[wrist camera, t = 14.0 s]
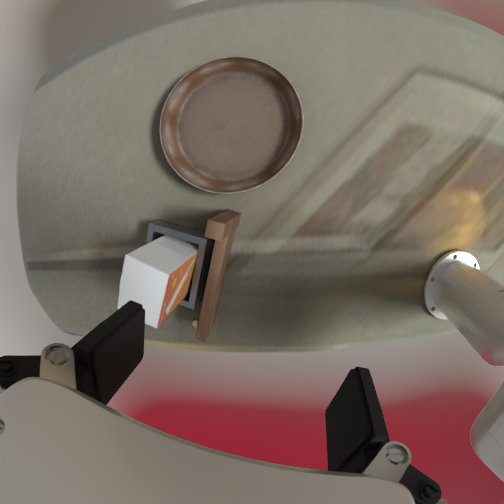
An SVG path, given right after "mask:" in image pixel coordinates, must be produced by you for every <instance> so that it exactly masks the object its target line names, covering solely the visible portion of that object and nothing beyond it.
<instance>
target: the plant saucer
mask: <svg viewBox="0 0 504 504" xmlns="http://www.w3.org/2000/svg"><path fill="white" fill-rule="evenodd" d="M303 125H304V115H303V108H302V104H301V101H300V98H299V95H298V93H297V91H296V89H295V88H294V86H293V84H292V83H291V82H290V80H289V79H288V78H287V77H286V76H285V75H284V74H283V73H282V72H281V71H279V70H278V69H277V68H275V67H274V66H272V65H270V64H268V63H266V62H264V61H261V60H258V59H255V58H251V57H245V56H228V57H221V58H217V59H214V60H211V61H208V62H205V63H203V64H201V65H199V66H197V67H196V68H194V69H193V70H191V71H190V72H188V73H187V74H186V75H185V76H184V77H183V78H182V79H181V80H180V81H179V82H178V83H177V84H176V85H175V86H174V88H173V89H172V91H171V92H170V94H169V96H168V97H167V99H166V101H165V104H164V107H163V109H162V113H161V117H160V127H159V134H160V141H161V146H162V149H163V152H164V155H165V157H166V159H167V161H168V163H169V164H170V166H171V167H172V168H173V170H174V171H175V172H176V173H177V174H178V175H179V176H180V177H181V178H182V179H183V180H185V181H186V182H187V183H189V184H191V185H192V186H194V187H196V188H199V189H201V190H204V191H208V192H212V193H218V194H235V193H242V192H246V191H249V190H252V189H255V188H257V187H260V186H262V185H264V184H265V183H267V182H269V181H270V180H272V179H273V178H274V177H276V176H277V175H278V174H279V173H280V172H281V171H282V170H283V169H284V168H285V167H286V166H287V165H288V163H289V162H290V161H291V159H292V158H293V156H294V154H295V152H296V151H297V148H298V146H299V144H300V141H301V137H302V133H303Z"/></svg>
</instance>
